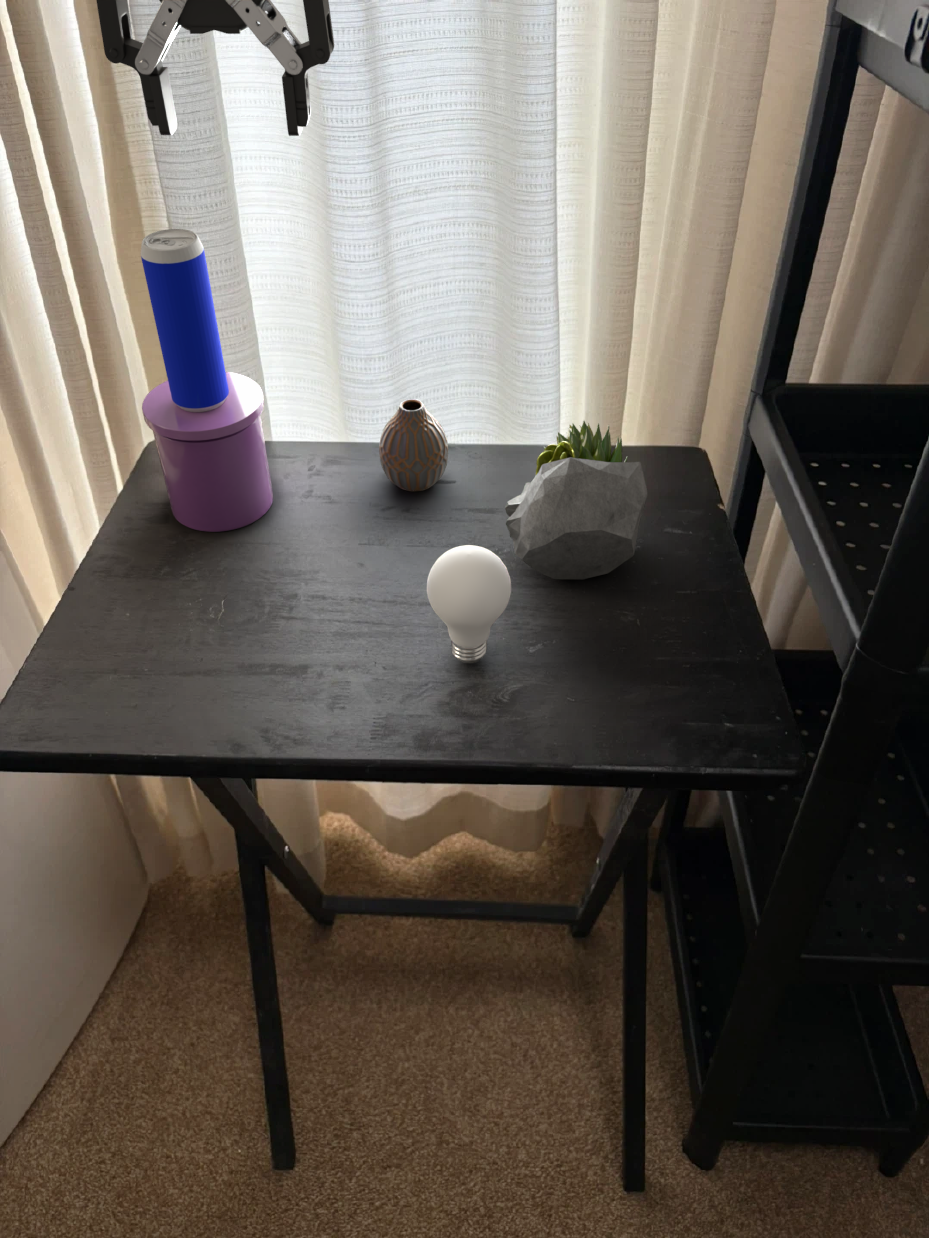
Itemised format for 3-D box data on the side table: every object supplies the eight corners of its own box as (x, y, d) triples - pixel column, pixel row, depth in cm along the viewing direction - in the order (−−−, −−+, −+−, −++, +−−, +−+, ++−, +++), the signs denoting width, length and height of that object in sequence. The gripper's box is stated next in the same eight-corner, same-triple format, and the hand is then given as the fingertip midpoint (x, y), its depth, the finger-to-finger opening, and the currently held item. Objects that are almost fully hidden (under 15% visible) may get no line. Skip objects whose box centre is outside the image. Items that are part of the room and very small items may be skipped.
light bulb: (473, 620, 90) (473, 517, 82) (525, 660, 86) (530, 557, 78) (413, 654, 86) (407, 551, 79) (464, 698, 83) (463, 593, 75)
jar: (154, 534, 99) (127, 431, 91) (180, 470, 107) (157, 370, 100) (268, 535, 99) (251, 431, 91) (285, 471, 107) (271, 371, 99)
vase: (462, 479, 106) (462, 404, 100) (414, 508, 102) (411, 431, 96) (415, 454, 109) (412, 380, 103) (367, 481, 106) (361, 405, 100)
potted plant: (482, 567, 90) (475, 438, 98) (583, 617, 97) (569, 492, 105) (584, 499, 82) (568, 365, 90) (685, 558, 89) (662, 429, 98)
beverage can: (236, 387, 97) (209, 228, 87) (221, 416, 93) (191, 253, 83) (182, 385, 97) (149, 226, 87) (165, 413, 93) (129, 250, 83)
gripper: (42, -164, 56) (112, 151, 67) (305, -165, 55) (332, 151, 66) (83, -177, 61) (141, 115, 72) (322, -177, 61) (344, 116, 72)
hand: (233, 132), depth 69 cm, fingers open, 8 cm apart
